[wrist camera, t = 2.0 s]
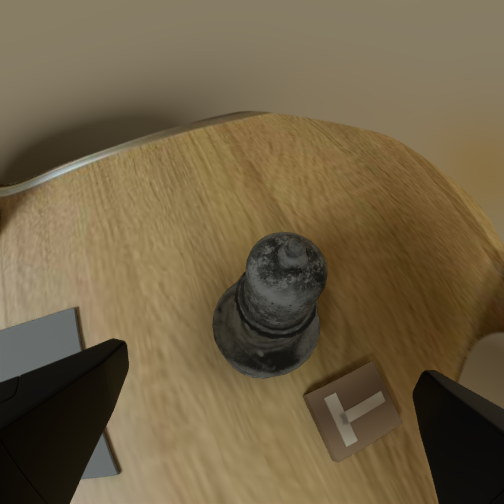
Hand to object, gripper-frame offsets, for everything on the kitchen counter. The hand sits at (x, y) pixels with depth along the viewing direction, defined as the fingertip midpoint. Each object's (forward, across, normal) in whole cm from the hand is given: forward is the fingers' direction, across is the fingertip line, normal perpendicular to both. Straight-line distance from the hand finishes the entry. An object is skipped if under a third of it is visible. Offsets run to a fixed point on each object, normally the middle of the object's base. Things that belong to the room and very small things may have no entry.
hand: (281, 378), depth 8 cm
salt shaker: (+10, 0, +5) cm, 12 cm away
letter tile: (+8, -6, +9) cm, 13 cm away
